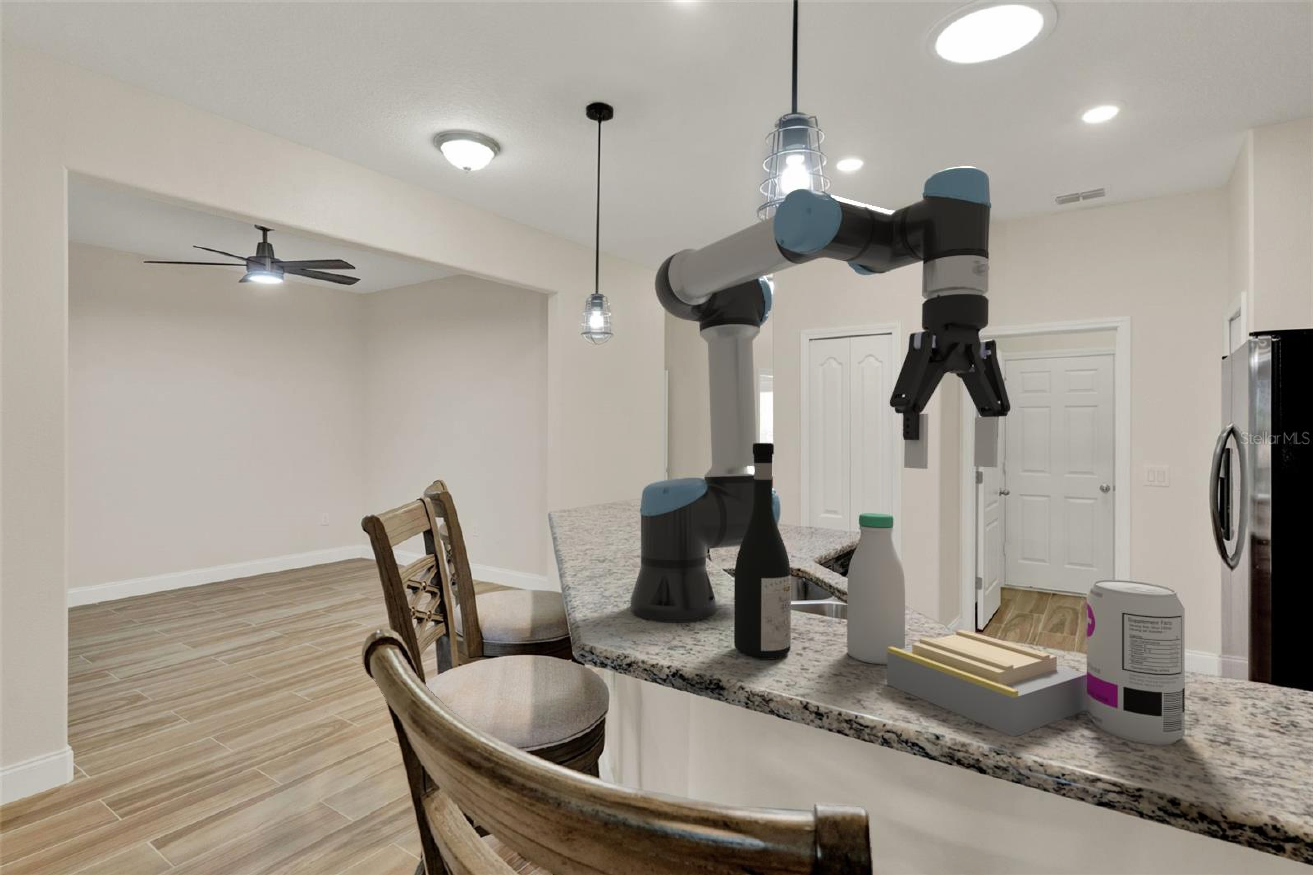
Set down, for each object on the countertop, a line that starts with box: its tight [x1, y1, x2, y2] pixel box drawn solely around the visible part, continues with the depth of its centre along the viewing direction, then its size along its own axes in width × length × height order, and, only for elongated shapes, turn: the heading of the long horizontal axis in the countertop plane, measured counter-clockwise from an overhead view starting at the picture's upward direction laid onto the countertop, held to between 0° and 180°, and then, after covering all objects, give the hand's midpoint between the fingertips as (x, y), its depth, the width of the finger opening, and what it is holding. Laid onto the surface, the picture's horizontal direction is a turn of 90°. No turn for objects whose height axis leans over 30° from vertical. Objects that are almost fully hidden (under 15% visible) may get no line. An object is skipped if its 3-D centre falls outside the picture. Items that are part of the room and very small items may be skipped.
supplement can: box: [1086, 579, 1186, 746], centre depth 66 cm, size 8×8×15 cm
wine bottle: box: [733, 442, 792, 660], centre depth 90 cm, size 8×8×30 cm
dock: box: [886, 629, 1087, 738], centre depth 75 cm, size 16×14×6 cm
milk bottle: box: [846, 512, 906, 665], centre depth 89 cm, size 8×8×20 cm
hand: (952, 467), depth 79 cm, fingers open, 13 cm apart
